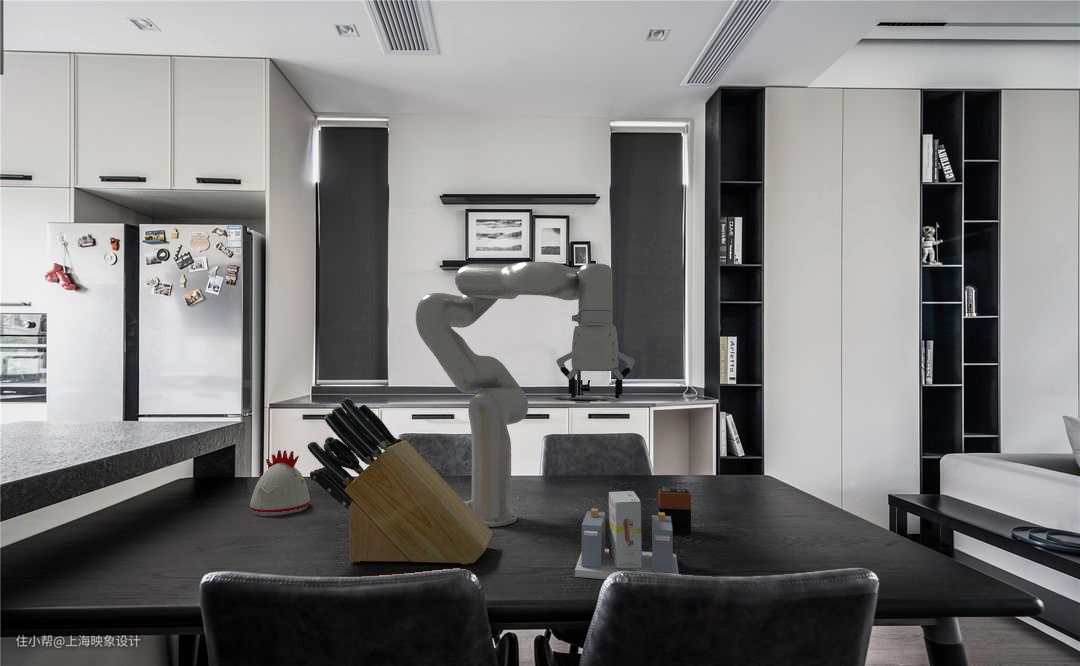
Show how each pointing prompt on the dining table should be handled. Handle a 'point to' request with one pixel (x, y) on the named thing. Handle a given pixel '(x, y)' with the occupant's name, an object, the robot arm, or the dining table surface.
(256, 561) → the dining table surface
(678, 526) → the battery
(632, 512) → the ink box
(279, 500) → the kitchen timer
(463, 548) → the knife block
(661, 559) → the board
